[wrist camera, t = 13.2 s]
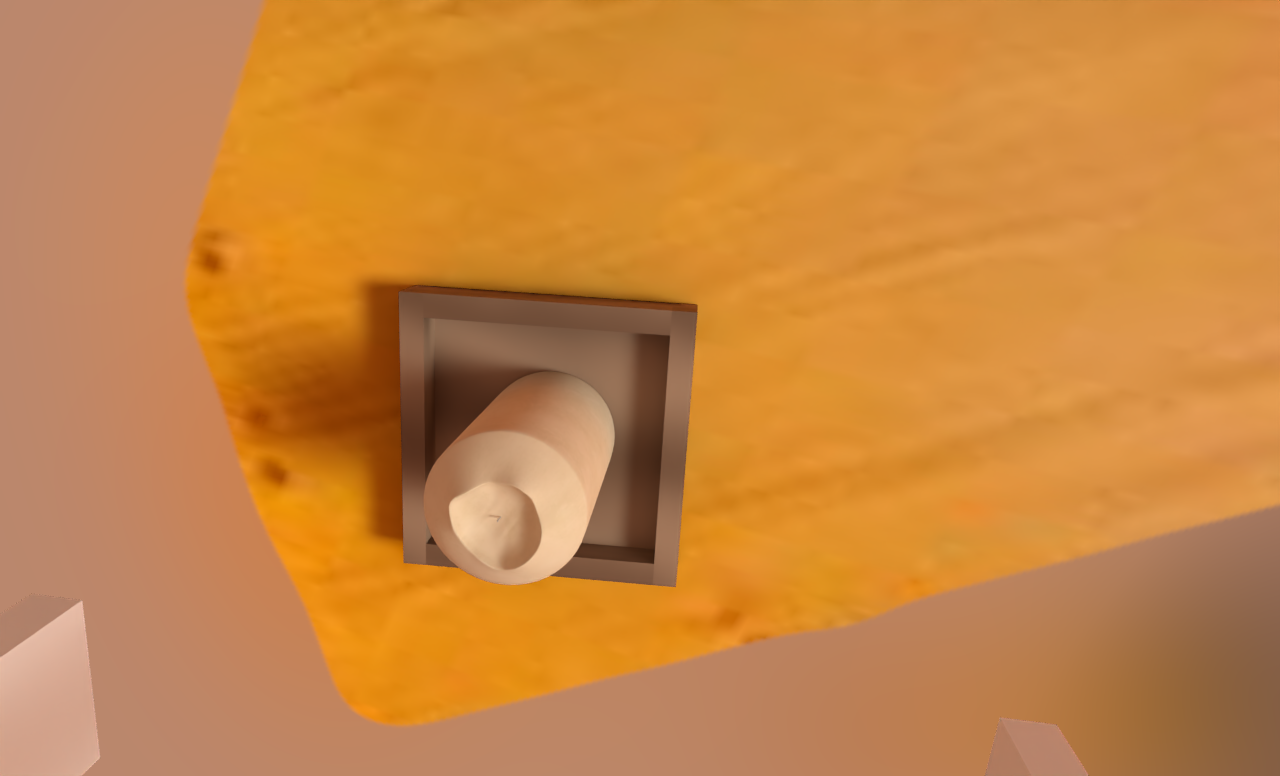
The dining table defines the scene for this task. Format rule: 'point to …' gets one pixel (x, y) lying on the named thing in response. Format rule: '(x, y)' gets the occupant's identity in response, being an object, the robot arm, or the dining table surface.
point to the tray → (573, 344)
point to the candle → (522, 480)
